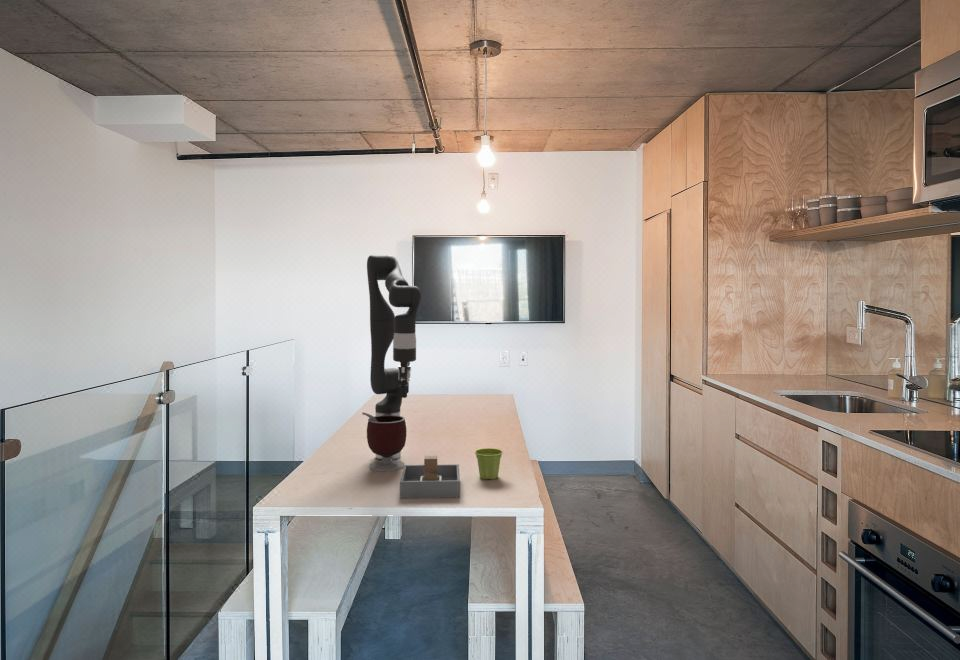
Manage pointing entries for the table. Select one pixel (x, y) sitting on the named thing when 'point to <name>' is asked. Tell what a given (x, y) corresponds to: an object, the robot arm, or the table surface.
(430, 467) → the brown block
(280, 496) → the table surface
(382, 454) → the mate gourd
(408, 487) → the grey square tray
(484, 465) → the plant pot
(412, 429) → the table surface
